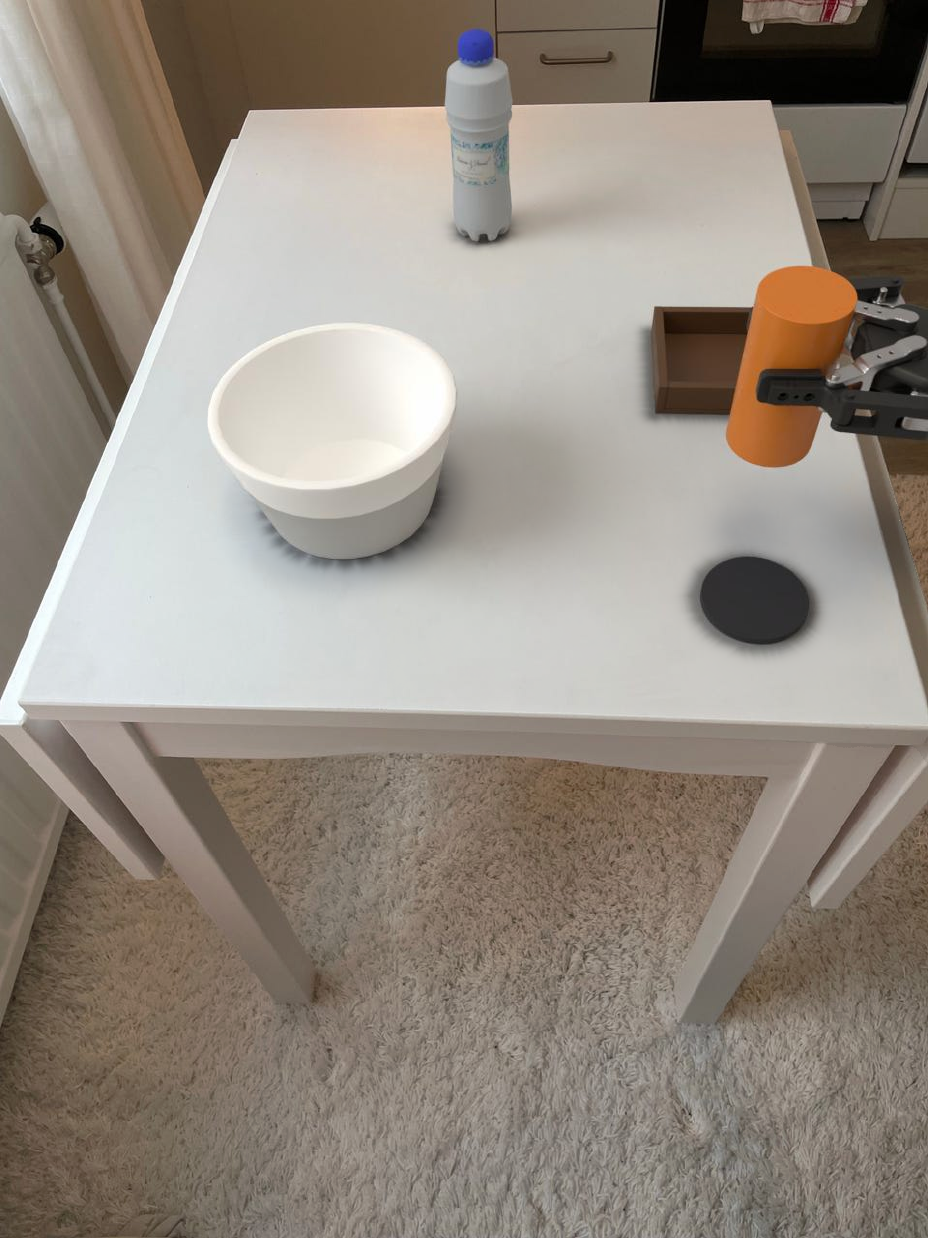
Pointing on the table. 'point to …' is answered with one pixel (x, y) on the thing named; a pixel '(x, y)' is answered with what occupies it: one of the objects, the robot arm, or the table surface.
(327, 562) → the table surface
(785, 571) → the coaster
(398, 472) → the bowl
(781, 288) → the orange cylinder
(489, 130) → the bottle
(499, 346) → the table surface
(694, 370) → the tray
